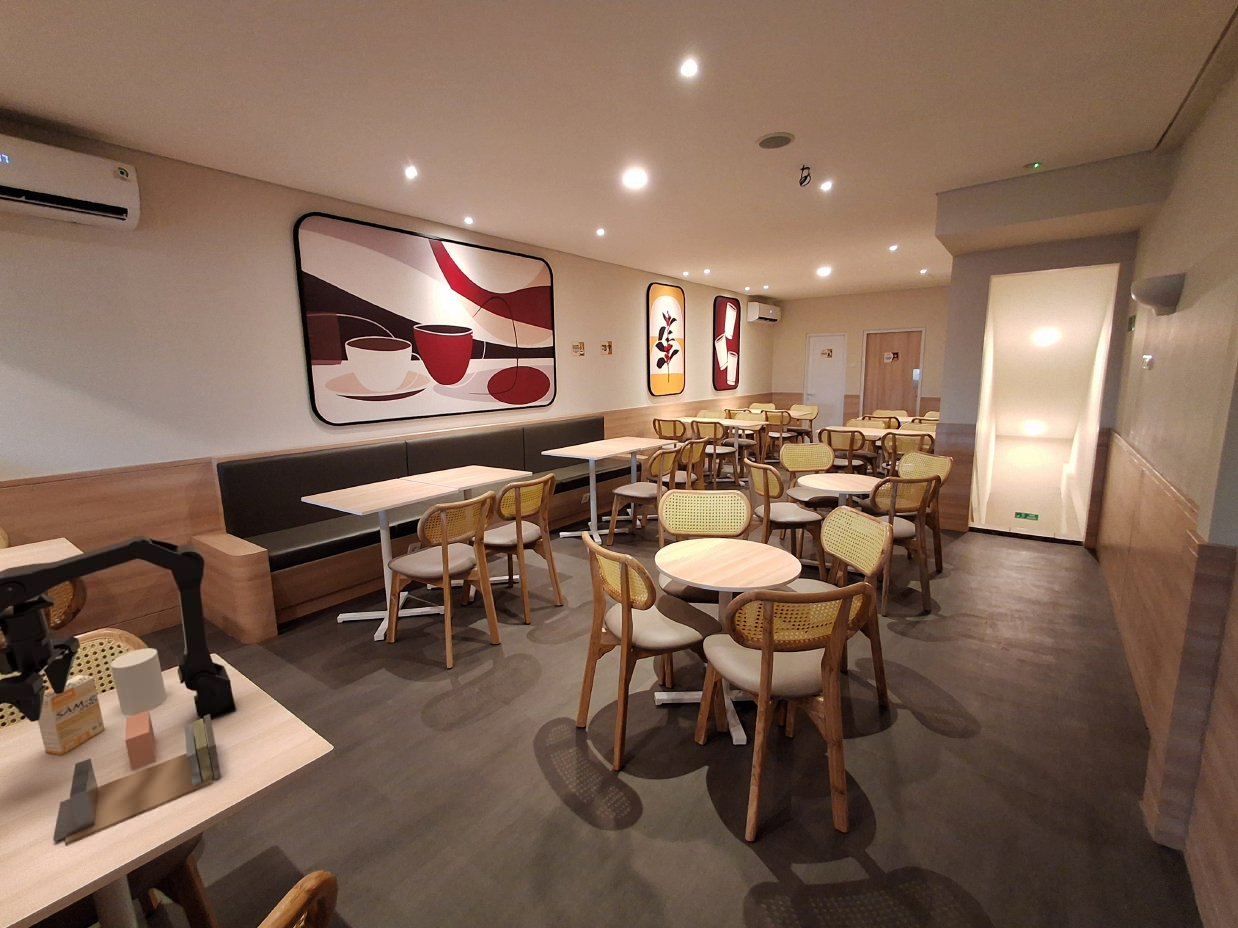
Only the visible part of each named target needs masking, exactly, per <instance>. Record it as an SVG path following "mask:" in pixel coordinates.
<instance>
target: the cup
mask: <svg viewBox="0 0 1238 928" xmlns="http://www.w3.org/2000/svg"><path fill="white" fill-rule="evenodd" d="M158 654H159V653H158V650H157V648H149V647H148V648H147V647H146V648H140V649H136V650H133V651H130V652H126V653H125V654H121V655H120V656H118V657H117V658H115V659H114V660H113V661H111V663H110V668H111V672H112V677H113V681H114V685H115V690H116V695H117V697H118V702H119V707H120V712H121V714H123V715H126V716H128V715H129V716H133V715H136V714H139V713H142V712H145V711H148V710H149V711H151V710H152V709H155V708H156V707H158V706H160V705H162V704H163V703H164V702H165V700H166V699H167V692H166V688H165V687H166V686H165V682H164V678H163V674H162V669H161V664H160V660H159V655H158Z"/></svg>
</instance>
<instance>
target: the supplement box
mask: <svg viewBox="0 0 1238 928" xmlns="http://www.w3.org/2000/svg"><path fill="white" fill-rule="evenodd" d="M96 687H97V686H96V683H95V678H94V676H90V675H82V674H81V675H80V674H77V675H75V676H72V677H71V678H68V680H67V683H66V686H65V689H64V692H63V693H60V694H56V693H55V692H54V690H53V688H52V687H51V688H48V689H45V693H44V698H43V704H42V710H41V715H40V719H39V720H38V721H37V722H38V726H39V731H40V735H41V739H42V743H43V746H44V750H45V753H48V754H54V755H59V756H63V755H65V754H67V753H68V752H70V751H71V750H73V749H74V748H76V747H78V746H79V745H81V744H82V743H84V742H86V741H87V740H90V739H91V738H92V737H94V736H96V735H98V734H99V733H101V732H103V731H104V730H105V729H106V727H105V723H104V719H103V716H102V712H101V711H102V710H101V706H100V701H99V697H98V692H97V688H96Z"/></svg>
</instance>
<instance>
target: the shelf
mask: <svg viewBox="0 0 1238 928" xmlns="http://www.w3.org/2000/svg"><path fill="white" fill-rule="evenodd" d="M204 721H205V722H203V719H201V718H200V719H197V720H194V721H192V723H190V724H189V723H188V724H187V725H184V726H183V732H184V741H185V749H186V753H183V754H180V755H178V756H175V757H173V758H172V757H171V758H170V759H168V760H165V761H163V762H159V763H157V764H154V765H152V766H149V767H147V768H144V769H141V770H138V771H137V772H133V773H131V774H128V775H124V776H123V777H121V778H118V779H115V780H112V781H110V782H107V783H104V784H101V785H99V786H98V790H99V791H98V800H97V809H96V818H95V825H93V826H91V827H88V828H86V829H83V830H81V831H78V832H76V833H74V834H71V835H69V836H66V837H65V841H64V845H65V846H67V845H70V844H73V843H75V842H77V841H80V840H82V839H84V838H87V837H90V836H91V835H94V834H97V833H99V832H101V831H103V830H106V829H108V828H111V827H113V826H116V825H118V824H119V823H123V822H124V821H127V820H129V819H132V818H134V817H137V816H139V815H142V814H144V813H147V812H149V811H151V810H153V809H156V808H158V807H161V806H163V805H165V804H167V803H170V802H172V801H176V800H177V799H180V798H182V797H185V796H186V795H189V794H191V793H194V792H196V791H198V790H201V789H203V788H206V787H208V786H210V785H213V779H212V778H214V779H217V778H220V777H222V774H221V773H222V771H221V768H220V762H219V756H218V751H217V745H216V740H215V735H214V730H213V724H212V719H211V718H210V714H208V715H205V716H204Z"/></svg>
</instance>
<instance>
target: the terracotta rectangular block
mask: <svg viewBox="0 0 1238 928" xmlns="http://www.w3.org/2000/svg"><path fill="white" fill-rule="evenodd" d="M124 731H125V736H124V742H125V747H126V750H127V754H128V758H129V764H130V767H131V771H135V770H138V769H141V768H143V767H146V766H148V765H151V764H153V763H156V757H157V755H156V737H155V732H154V727H153V722H152V718H151V714H150V710H148V711H145V712H142V713H139V714H134V715H129V716H127V717H126V719H125V730H124Z"/></svg>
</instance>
